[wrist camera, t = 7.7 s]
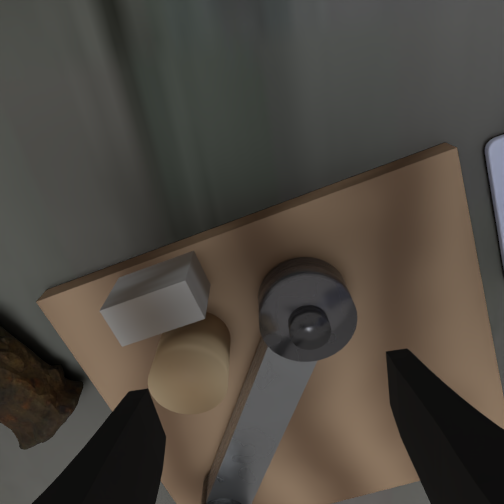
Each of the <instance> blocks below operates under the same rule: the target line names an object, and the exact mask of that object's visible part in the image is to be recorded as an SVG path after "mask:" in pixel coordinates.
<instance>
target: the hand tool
mask: <svg viewBox="0 0 504 504" xmlns="http://www.w3.org/2000/svg"><path fill="white" fill-rule="evenodd" d="M82 389H83V382H81V381H72V380H69V379H67V378H65V377H64V371H63V368H62V365H52V366H51V365H49V364H47V363H46V362H44V361H43V360H42V359H40V358H39V357H38V356H37V355H36V354H35V353H34V352H32V351H31V350H30V349H29V348H28V347H26V346H25V345H24V344H22V343H21V342H20V341H18V340H17V339H16V338H15V337H13V336H12V335H11V334H10V333H8V332H7V331H6V330H5V329H3V328H2V327H1V326H0V423H2V424H4V425H5V426H7V427H8V428H10V429H11V430H12V431H13V433H14V434H15V435H16V437H17V438H18V441H19V447H20V448H21V449H24V450H25V449H28V448H31V447H33V446H35V445H37V444H39V443H41V442H42V443H43V442H45V441H47V440H49V439H50V438H51V437H53V435H54V434H55V433H56V431H57V430H58V429H59V428H60V426H61V425H62V424H63V423H64V422H66V420H67V418H68V417H69V416H70V415H71V414H72V412H73V411H74V410H75V408H76V406H77V404H78V401H79V397H80V395H81V392H82Z"/></svg>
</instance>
